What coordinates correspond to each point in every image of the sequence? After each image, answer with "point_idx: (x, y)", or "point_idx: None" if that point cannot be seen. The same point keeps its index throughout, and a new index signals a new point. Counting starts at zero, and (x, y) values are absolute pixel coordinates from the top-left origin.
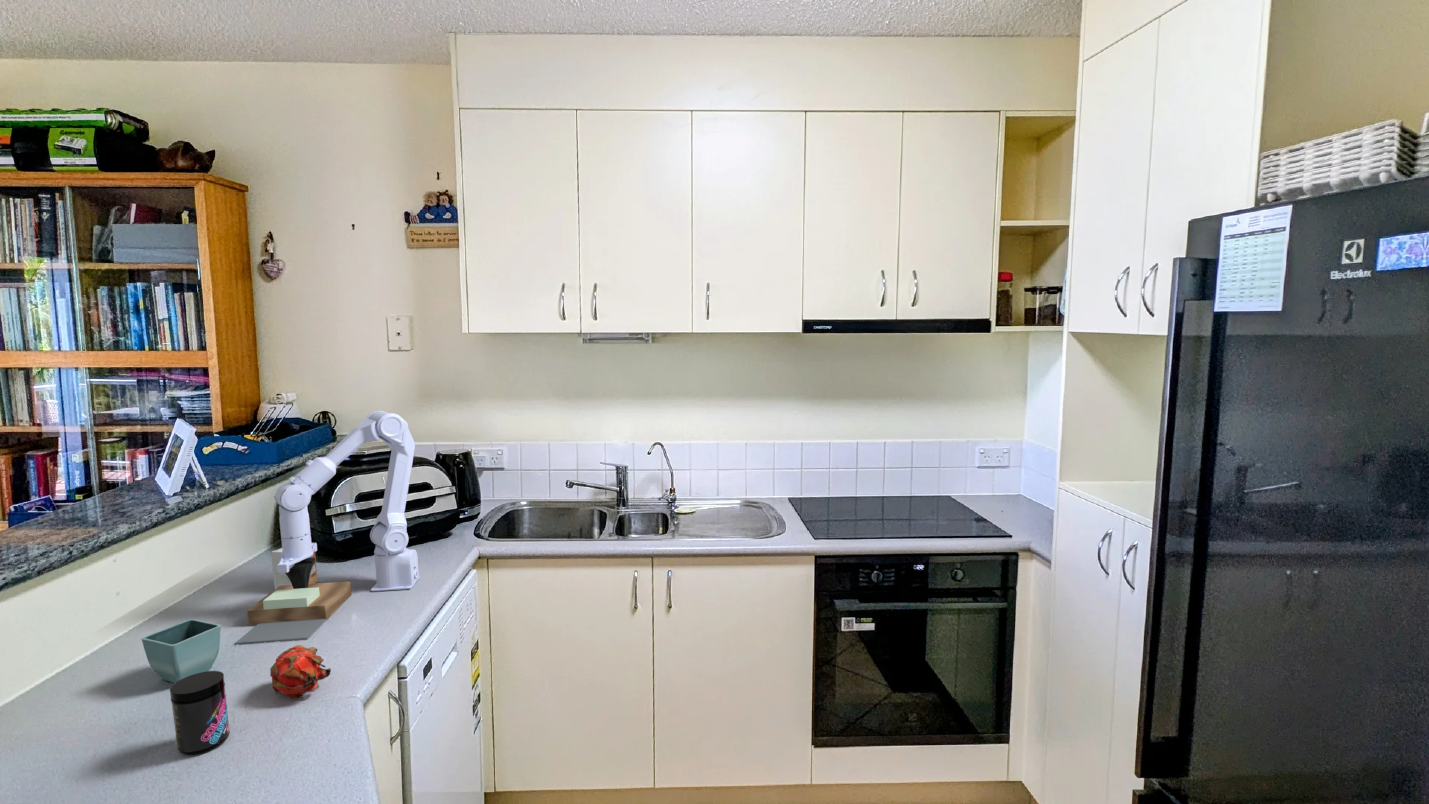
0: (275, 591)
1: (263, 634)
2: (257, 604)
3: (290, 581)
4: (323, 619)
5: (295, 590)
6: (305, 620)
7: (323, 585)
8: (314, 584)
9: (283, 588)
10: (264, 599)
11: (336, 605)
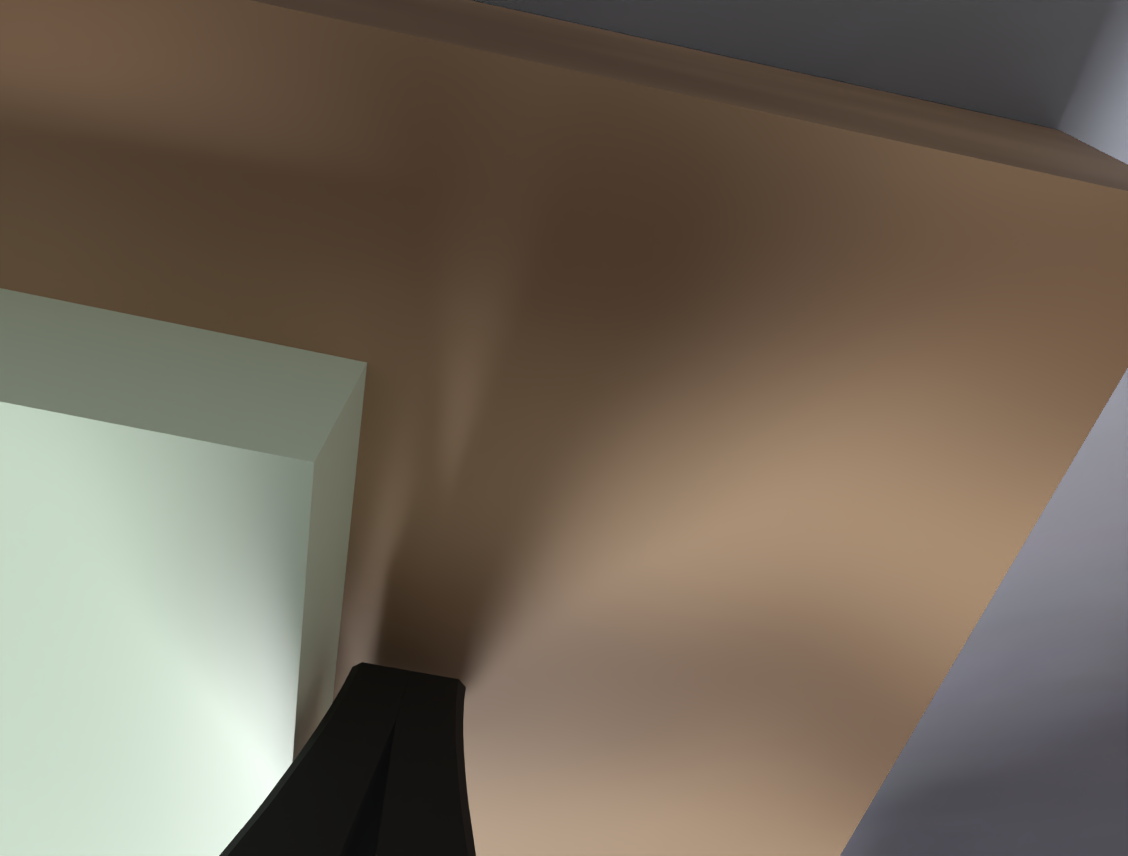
0: (209, 451)
1: None
2: (72, 18)
3: (228, 854)
4: None
5: (197, 763)
6: None
7: (729, 851)
8: (852, 758)
9: (942, 341)
10: (359, 99)
11: None
